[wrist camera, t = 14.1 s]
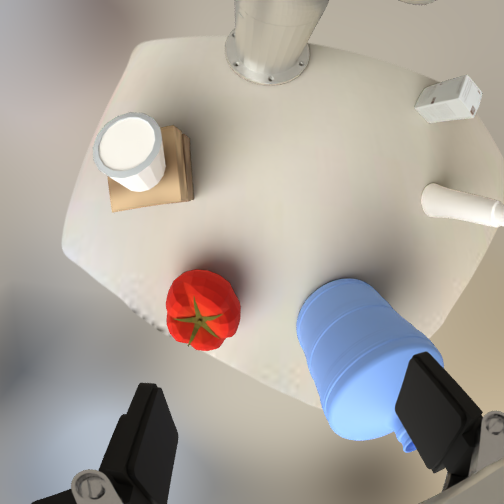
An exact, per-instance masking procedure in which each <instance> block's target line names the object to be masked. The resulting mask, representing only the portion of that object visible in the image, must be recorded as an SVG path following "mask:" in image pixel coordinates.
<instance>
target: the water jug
mask: <svg viewBox="0 0 504 504" xmlns="http://www.w3.org/2000/svg"><path fill="white" fill-rule="evenodd" d="M297 336H298V339H299V342H300V345H301V347H302V349H303V351H304V353H305V356H306V359H307V364H308V368H309V371H310V374H311V376H312V378H313V380H314V382H315V385H316V387H317V390H318V393H319V396H320V401H321V405H322V408H323V411H324V414H325V416H326V418H327V420H328V422H329V424H330V427H331V428H332V430H333V431H334V432H335V433H336V434H338V435H339V436H341V437H343V438H346V439H350V440H369V439H374V438H378V437H381V436H384V435H387V434H389V433H391V432H393V431H394V432H395V433H396V436H397V439H398V440H399V442H401V443H402V445H403V450H404V452H412V451H414V450H416V447H415V445H414V443H413V442H412V440H411V438H410V437H409V435H408V433H407V431H406V430H405V428H404V426H403V425H402V423H401V421H400V419H399V418H398V416H397V414H396V412H395V404H396V401H397V398H398V395H399V392H400V389H401V386H402V383H403V380H404V377H405V373H406V370H407V366H408V363H409V360H410V359H412V356H413V355H415V354H418V353H422V352H425V351H426V352H428V353H430V354H431V355H432V357H433V358H434V359H435V360H436V361H437V362H438V363H439V364H440V365H441V366H442V367H443V368H444V363H443V359H442V356H441V354H440V352H439V351H438V350H437V348H435V346H434V344H433V343H432V342H431V341H430V340H429V339H428V338H427V337H426V336H425V335H424V334H423V333H421V332H420V331H419V330H417V329H416V328H415V327H414V326H413V325H412V324H411V323H409V322H408V321H406V320H405V319H404V318H402V317H401V316H400V315H399V314H398V313H397V312H396V311H395V310H394V309H393V308H392V307H391V305H390V304H389V303H388V302H387V301H386V300H385V299H384V298H383V297H381V296H380V294H379V293H378V292H377V291H376V290H375V289H374V288H373V287H372V286H370V285H369V284H367V283H366V282H363V281H361V280H357V279H339V280H335V281H332V282H329V283H327V284H325V285H323V286H322V287H320V288H319V289H317V290H316V291H315V292H314V293H313V294H312V295H311V296H310V297H309V298H308V299H307V300H306V302H305V303H304V305H303V306H302V308H301V310H300V312H299V315H298V319H297Z"/></svg>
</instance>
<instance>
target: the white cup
mask: <svg viewBox="0 0 504 504" xmlns="http://www.w3.org/2000/svg"><path fill="white" fill-rule="evenodd" d="M93 158H94V162H95V164H96V165H97V167H98V169H99V171H101V172H102V173H104V174H106V175H107V176H109V177H110V178H112V179H113V180H115V181H117V182H118V183H120V184H121V185H123V186H124V187H126V188H128V189H129V190H131V191H136V192H143V191H146V190H150V189H151V188H153V187H154V186H155V185H157V184H158V183H159V181H160V180H161V179H162V177H163V176H164V172H165V167H166V165H165V158H164V151H163V143H162V136H161V130H160V127H159V125H158V124H157V123H156V121H155V120H154V119H153V118H152V117H150V116H148V115H146V114H144V113H133V112H130V113H126V114H123V115H120V116H117V117H115V118H114V119H112V120H111V121H110V122H108V123H107V124H105V126H104V127H103V128H102V130H101V131H100V132H99V134H98V135H97V137H96V140H95V143H94V146H93Z"/></svg>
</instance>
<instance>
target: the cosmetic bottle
mask: <svg viewBox="0 0 504 504" xmlns="http://www.w3.org/2000/svg"><path fill="white" fill-rule="evenodd" d="M421 204H422V208H423V210H424V212H425V213H426V215H428V216H429V217H443V218H452V219H458V220H463V221H468V222H473V223H477V224H482V225H487V226H492V227H499V226H500V225H501V226H504V205H503V204H502V203H501V202H500V201H498V200H495V199H491V198H487V197H483V196H479V195H475V194H470V193H466V192H461V191H457V190H453V189H450V188H446V187H443V186H440V185H438V184H435V183H431V184H429V185H427V186H426V187H425V189H424V190H423V193H422V196H421Z"/></svg>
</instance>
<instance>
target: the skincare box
mask: <svg viewBox="0 0 504 504" xmlns="http://www.w3.org/2000/svg"><path fill="white" fill-rule="evenodd" d="M482 94H483V93H482V92H481V90H480V89H479V88H478V87H477V85H476V84H475V83H474V82H473V81H472V80H471V78H470V77H469V76H468V75H464V76H460V77H457V78H453V79H450V80H447V81H444V82H441V83H438V84H435V85H431V86H429V87H426V88H424V90H423V91H422V93H421V95H420V97H419V99H418V100H417V103H416V104H415V107H414V108H415V110H416V111H417V112H418V113H419V114H420V115H421V116H422V117H423V118H424V119H425V120H426V121H427V122H428V123H437V122H444V121H451V120H459V119H468V118H474V116H475V114H476V111H477V109H478V108H479V105H480V100H481V97H482Z"/></svg>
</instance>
